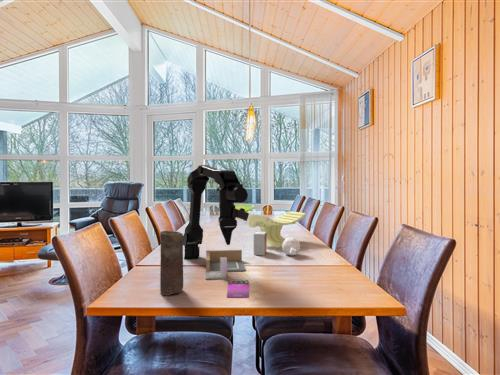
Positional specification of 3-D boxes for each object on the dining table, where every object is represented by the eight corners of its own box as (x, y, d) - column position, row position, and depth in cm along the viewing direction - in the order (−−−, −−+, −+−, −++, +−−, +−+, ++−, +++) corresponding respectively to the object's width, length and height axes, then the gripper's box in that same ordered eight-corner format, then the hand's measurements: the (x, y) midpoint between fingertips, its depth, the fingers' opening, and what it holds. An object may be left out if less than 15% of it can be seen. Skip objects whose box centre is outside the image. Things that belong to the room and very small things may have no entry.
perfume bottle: (278, 248, 151) (281, 257, 139) (284, 232, 150) (288, 240, 138) (294, 253, 152) (298, 263, 140) (300, 237, 150) (305, 245, 139)
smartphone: (248, 282, 108) (248, 280, 108) (249, 299, 93) (249, 296, 93) (228, 282, 108) (228, 279, 107) (226, 299, 93) (226, 296, 92)
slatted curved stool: (286, 238, 187) (287, 210, 186) (305, 243, 174) (305, 213, 174) (248, 244, 169) (248, 213, 169) (266, 249, 156) (266, 216, 156)
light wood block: (205, 279, 110) (205, 260, 109) (205, 275, 114) (205, 257, 114) (226, 278, 111) (227, 260, 111) (226, 274, 115) (226, 257, 115)
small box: (264, 255, 144) (264, 234, 144) (253, 255, 146) (253, 233, 145) (266, 251, 152) (267, 231, 152) (256, 251, 153) (256, 231, 153)
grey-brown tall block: (162, 287, 100) (163, 229, 100) (184, 287, 101) (184, 229, 101) (157, 296, 93) (157, 233, 92) (181, 296, 93) (181, 233, 93)
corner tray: (205, 272, 117) (206, 260, 117) (206, 261, 133) (206, 250, 133) (245, 271, 120) (245, 258, 119) (241, 260, 135) (241, 249, 135)
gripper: (250, 202, 106) (251, 246, 105) (244, 201, 124) (245, 238, 124) (219, 203, 104) (220, 247, 104) (218, 202, 123) (218, 239, 122)
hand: (227, 242), depth 114 cm, fingers open, 9 cm apart
